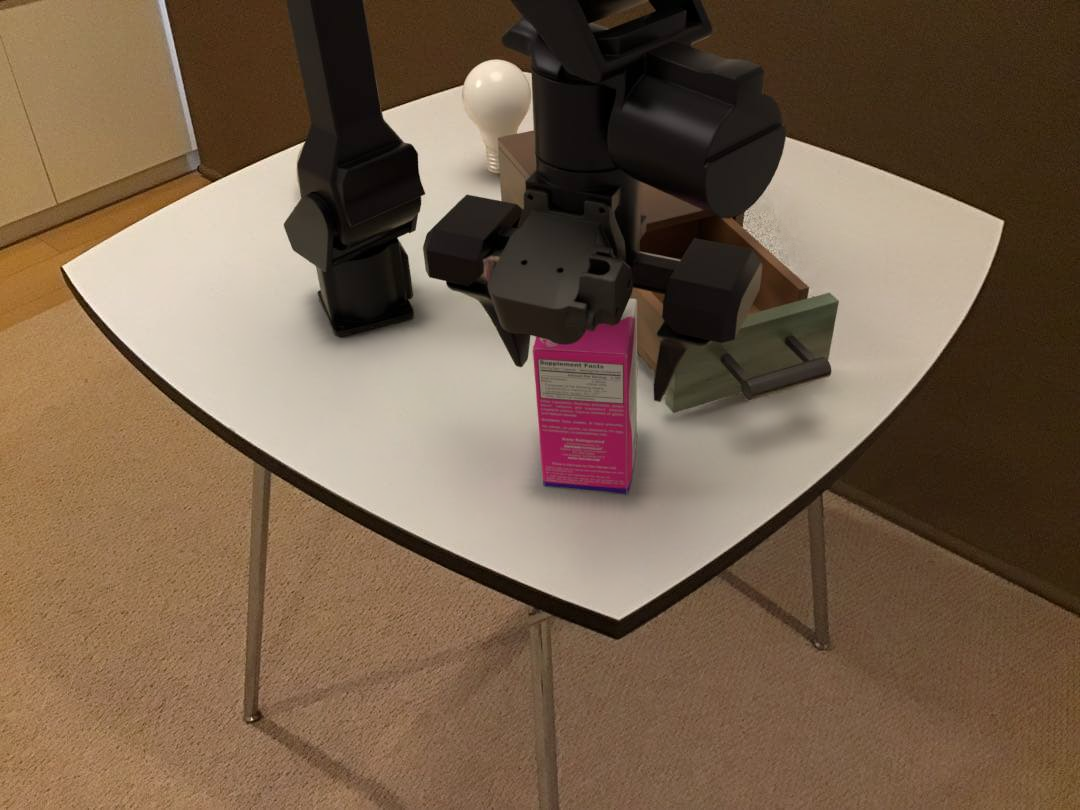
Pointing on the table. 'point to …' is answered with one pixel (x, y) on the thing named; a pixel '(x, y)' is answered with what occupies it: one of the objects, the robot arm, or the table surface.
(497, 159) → the lightbulb
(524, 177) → the cabinet
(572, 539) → the table surface
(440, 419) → the table surface
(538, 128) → the robot arm
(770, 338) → the drawer
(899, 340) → the table surface
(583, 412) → the supplement box
